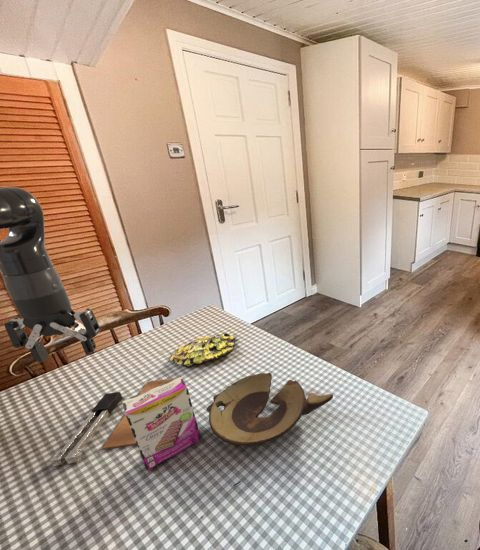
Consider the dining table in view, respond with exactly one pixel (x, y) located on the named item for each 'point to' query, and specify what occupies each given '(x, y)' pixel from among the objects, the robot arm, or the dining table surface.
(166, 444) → the candy bar box
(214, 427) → the brown shallow dish
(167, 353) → the dining table surface
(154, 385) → the cork mat
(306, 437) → the dining table surface
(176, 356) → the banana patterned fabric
